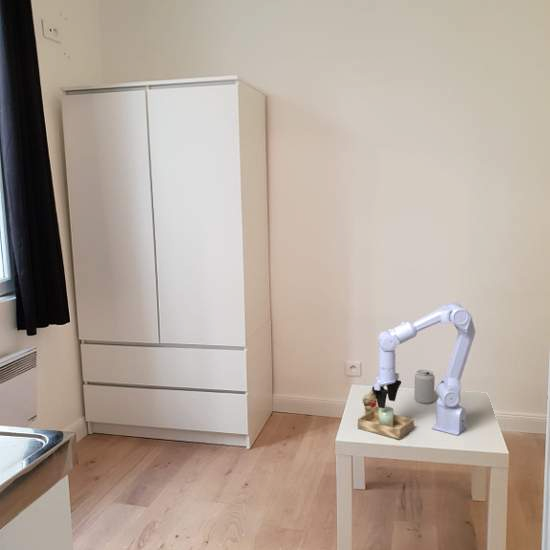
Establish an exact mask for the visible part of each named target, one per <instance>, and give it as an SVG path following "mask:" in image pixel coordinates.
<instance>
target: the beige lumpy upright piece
mask: <svg viewBox="0 0 550 550" xmlns="http://www.w3.org/2000/svg"><path fill="white" fill-rule="evenodd" d="M362 404H363V406H364V410H365V411H364V415H365V414H367V413H368V412H370V411H371V410H373V409H374V410H378V411H379V408H380V407H378V403H377V399H376V396H375V394H374V392H373V391H372V389H370V391H369V392H368V394H365V395H363V397H362Z"/></svg>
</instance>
